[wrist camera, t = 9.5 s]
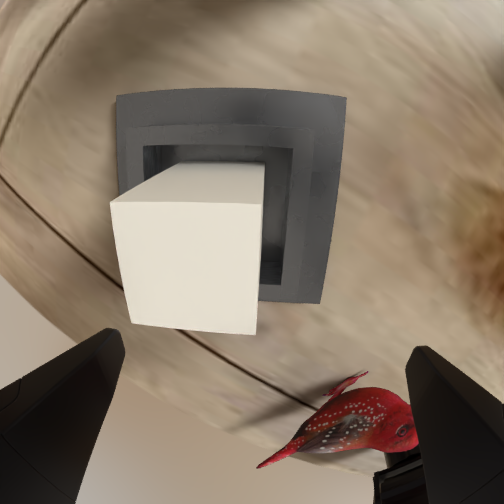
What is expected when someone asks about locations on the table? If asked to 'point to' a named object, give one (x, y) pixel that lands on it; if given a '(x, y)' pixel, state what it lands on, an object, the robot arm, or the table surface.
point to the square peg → (193, 246)
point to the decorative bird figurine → (354, 424)
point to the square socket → (250, 150)
